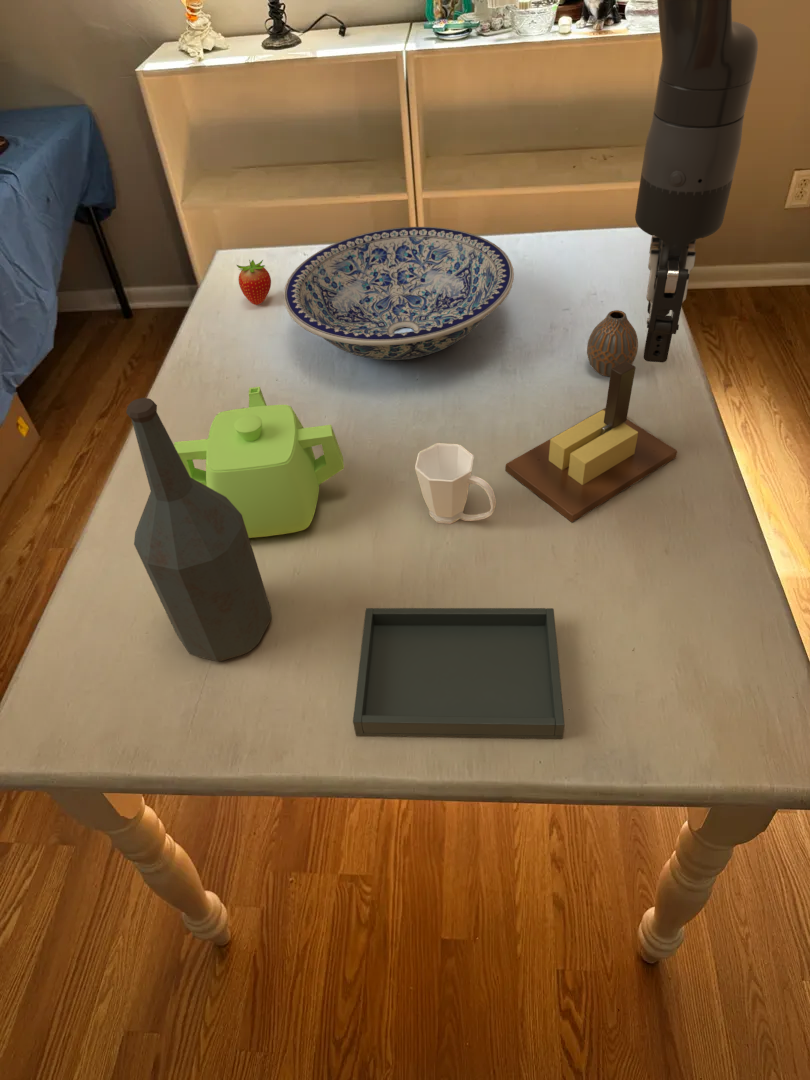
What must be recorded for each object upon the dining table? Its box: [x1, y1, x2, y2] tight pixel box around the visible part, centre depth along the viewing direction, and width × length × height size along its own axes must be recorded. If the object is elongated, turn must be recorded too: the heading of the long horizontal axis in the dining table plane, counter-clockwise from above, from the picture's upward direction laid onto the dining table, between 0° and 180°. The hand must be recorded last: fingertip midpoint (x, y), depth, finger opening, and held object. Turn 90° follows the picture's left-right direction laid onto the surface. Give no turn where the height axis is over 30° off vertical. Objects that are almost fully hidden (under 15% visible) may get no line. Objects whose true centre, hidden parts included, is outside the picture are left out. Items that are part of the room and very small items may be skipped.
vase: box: [586, 309, 639, 378], centre depth 110 cm, size 7×7×9 cm
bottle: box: [125, 397, 272, 663], centre depth 75 cm, size 10×10×30 cm
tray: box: [352, 607, 565, 740], centre depth 78 cm, size 20×14×3 cm
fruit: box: [236, 259, 272, 306], centre depth 130 cm, size 5×5×8 cm
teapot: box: [173, 386, 345, 539], centre depth 95 cm, size 18×20×13 cm
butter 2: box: [568, 423, 638, 485], centre depth 96 cm, size 9×2×4 cm, turn 126°
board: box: [504, 407, 678, 523], centre depth 99 cm, size 18×12×1 cm, turn 126°
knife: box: [601, 361, 636, 435], centre depth 96 cm, size 4×2×12 cm, turn 126°
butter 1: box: [549, 409, 607, 470], centre depth 98 cm, size 9×2×4 cm, turn 126°
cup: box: [414, 442, 497, 525], centre depth 92 cm, size 7×10×8 cm
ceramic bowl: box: [283, 226, 515, 361], centre depth 120 cm, size 34×34×10 cm
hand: (656, 335), depth 78 cm, fingers open, 8 cm apart
